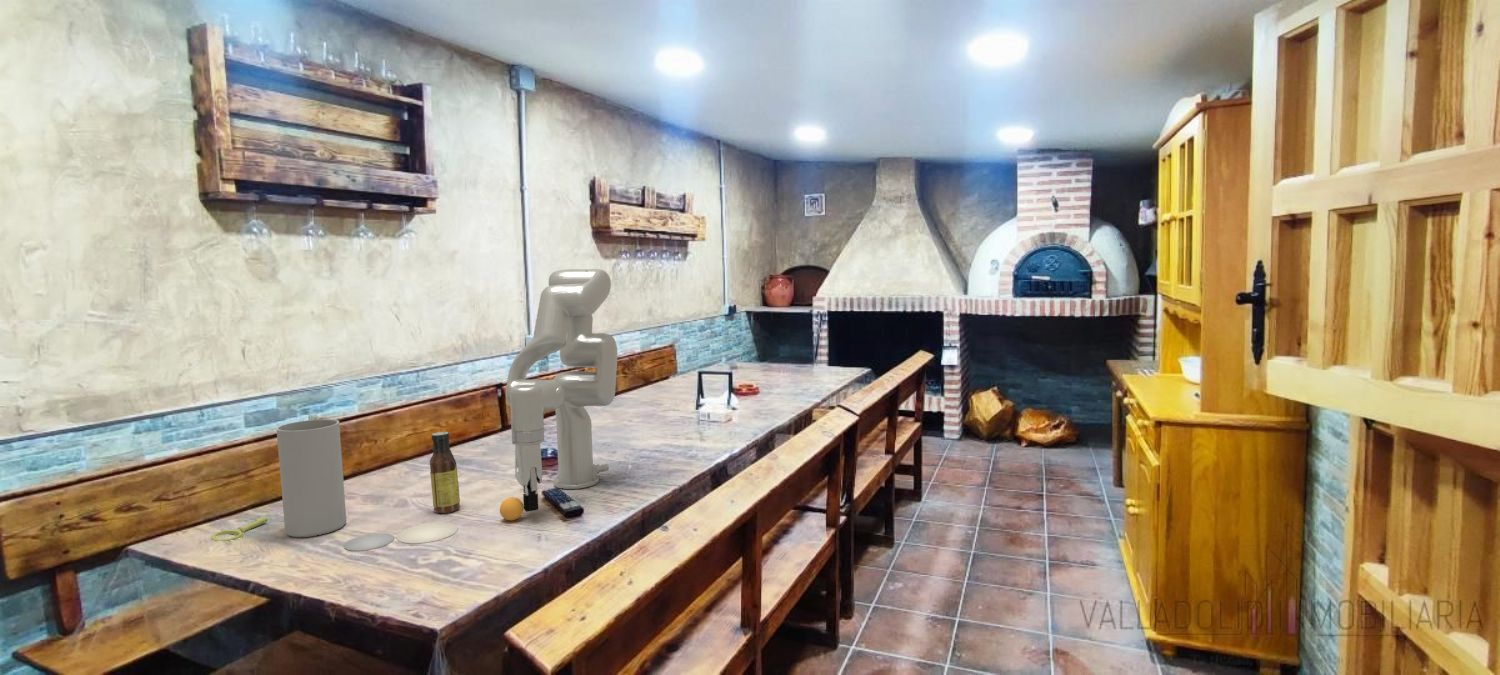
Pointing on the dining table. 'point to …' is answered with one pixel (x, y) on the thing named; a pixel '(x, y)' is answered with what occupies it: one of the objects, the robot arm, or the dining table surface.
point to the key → (239, 530)
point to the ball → (511, 508)
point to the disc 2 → (427, 532)
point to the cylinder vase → (311, 477)
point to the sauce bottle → (444, 475)
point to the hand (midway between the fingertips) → (531, 509)
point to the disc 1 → (368, 542)
